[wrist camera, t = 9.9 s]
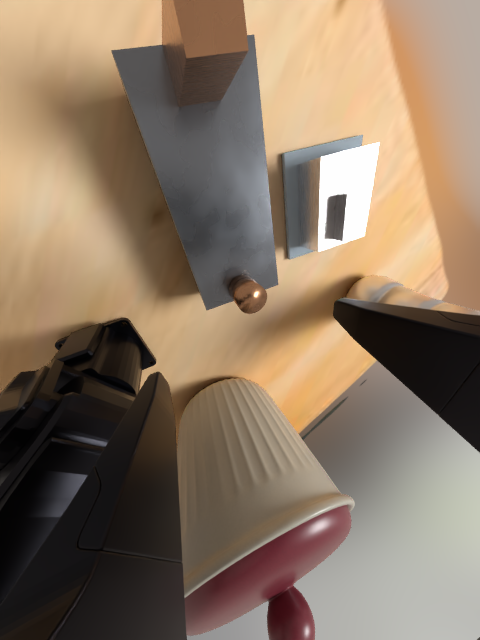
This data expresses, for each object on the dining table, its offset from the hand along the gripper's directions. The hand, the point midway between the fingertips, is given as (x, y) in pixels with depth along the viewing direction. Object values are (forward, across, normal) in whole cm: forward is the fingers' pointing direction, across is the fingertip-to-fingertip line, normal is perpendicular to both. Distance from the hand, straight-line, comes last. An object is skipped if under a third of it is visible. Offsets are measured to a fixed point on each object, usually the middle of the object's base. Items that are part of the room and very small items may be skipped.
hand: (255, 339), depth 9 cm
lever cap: (+12, -13, -3) cm, 18 cm away
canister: (+12, +4, +21) cm, 25 cm away
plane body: (+12, -2, -5) cm, 13 cm away
